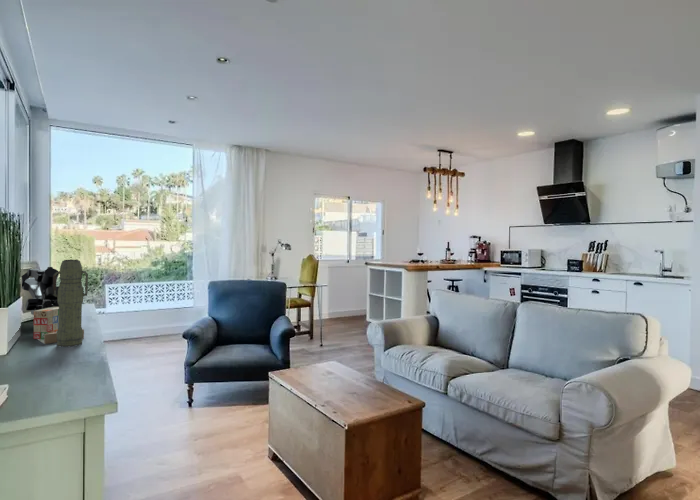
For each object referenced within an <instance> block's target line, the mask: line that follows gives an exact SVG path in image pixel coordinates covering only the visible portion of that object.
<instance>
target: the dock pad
mask: <svg viewBox="0 0 700 500" xmlns="http://www.w3.org/2000/svg"><path fill="white" fill-rule="evenodd" d="M82 330H83V338H82V340H84V339H85V329H84V328H82ZM37 340H38V341H39V342H41V343H42V344H44V345H49V344H57V333H49V334H44V339H37Z"/></svg>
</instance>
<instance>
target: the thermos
mask: <svg viewBox="0 0 700 500" xmlns="http://www.w3.org/2000/svg"><path fill="white" fill-rule="evenodd" d="M58 271H59V272H56V273H55V274H54V275H53V295H54V296H55V297H57V298H58V304H59V327H58V330H57V343H56V347H58V348H71V347H77V346H80V345H82V344H83V339H82V338H83V330H82V329H83V327H82V321H83V320H82V317H83V316H82V314H83V313H82V312H83V309H82V308H83V305H82V304H83V302H84V297H87V296H88V291H89V287H88V286H89V285H88V284H89V274H88V272H87V271H85V270H83V266H82V263H81V261H80V260H78V259H64V260H62V262H60V266H59V270H58ZM58 273H59V280H60V281H59V288H58V294H56V287H57V281H56V275H57V274H58ZM83 274H84V275H85V284H84V285H85V289H84V287H83V283H82V278H83ZM84 290H85V291H84Z"/></svg>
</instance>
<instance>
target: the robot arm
mask: <svg viewBox="0 0 700 500" xmlns="http://www.w3.org/2000/svg"><path fill="white" fill-rule="evenodd" d="M59 271H60V270H58V269H56V268H54V267H53V266H48V267H47V268H46V269H40V268H29V269H27V271H26V273H24V274H23V275H21V277H22V287H21V289H22V290H23V291H26V292H29V294H30V296H31V298H28V299H27V300H26V303H25V310H26V311H30V314H31V315H33V316H34V311H35V310H40V309H45V308H50V307H59V304H58V298H57V297H55V296H54V295H53V275H54V274H55V273H56V272H59ZM59 276H60V274H59V273H58V274H57V275H56V282H57V280H58V278H59ZM58 288H59V286H57V285H56V294H58ZM32 326H33V327H34V325H32Z"/></svg>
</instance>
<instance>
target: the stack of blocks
mask: <svg viewBox="0 0 700 500" xmlns="http://www.w3.org/2000/svg"><path fill="white" fill-rule="evenodd" d="M32 319H33V320H32V321H33V325H34V326H33V325H32V326H33V334H32V335H33V340H38V339H44V334H49V333H57V330H58V327H59V307H50V308H45V309H40V310H35V311H34V315H33V318H32Z"/></svg>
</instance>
